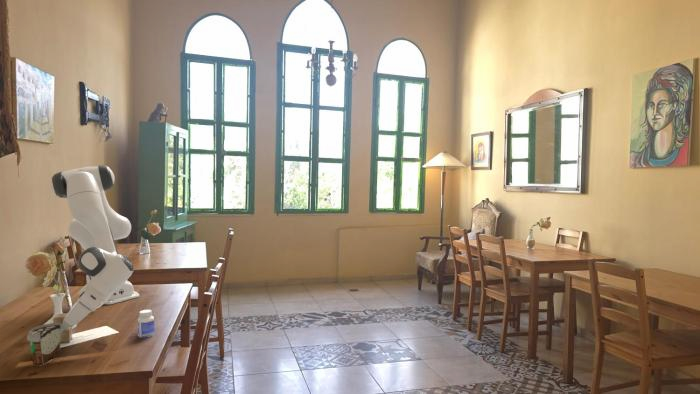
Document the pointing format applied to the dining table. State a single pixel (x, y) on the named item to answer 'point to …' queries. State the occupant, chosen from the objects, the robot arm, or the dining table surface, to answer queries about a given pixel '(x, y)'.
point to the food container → (44, 342)
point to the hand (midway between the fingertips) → (61, 327)
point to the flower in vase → (56, 297)
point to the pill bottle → (145, 324)
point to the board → (89, 335)
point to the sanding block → (65, 334)
